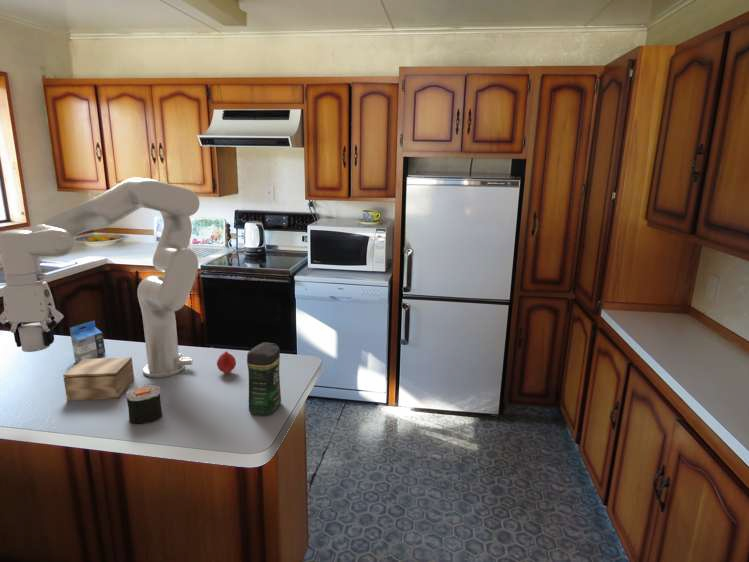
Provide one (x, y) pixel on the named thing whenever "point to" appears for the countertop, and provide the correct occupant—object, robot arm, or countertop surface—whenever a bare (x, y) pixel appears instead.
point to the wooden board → (98, 367)
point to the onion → (226, 362)
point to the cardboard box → (99, 385)
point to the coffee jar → (264, 378)
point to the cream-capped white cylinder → (32, 337)
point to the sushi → (144, 404)
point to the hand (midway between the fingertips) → (35, 344)
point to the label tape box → (87, 342)
